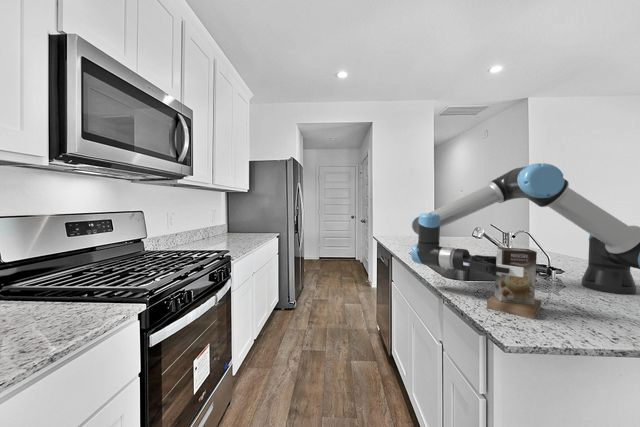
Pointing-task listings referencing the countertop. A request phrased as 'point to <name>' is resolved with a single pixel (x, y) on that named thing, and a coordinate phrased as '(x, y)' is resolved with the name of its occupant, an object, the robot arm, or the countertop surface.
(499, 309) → the walnut board
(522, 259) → the brown food box
